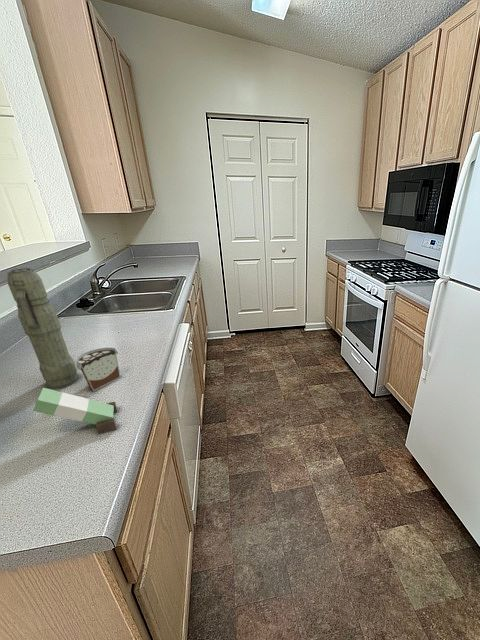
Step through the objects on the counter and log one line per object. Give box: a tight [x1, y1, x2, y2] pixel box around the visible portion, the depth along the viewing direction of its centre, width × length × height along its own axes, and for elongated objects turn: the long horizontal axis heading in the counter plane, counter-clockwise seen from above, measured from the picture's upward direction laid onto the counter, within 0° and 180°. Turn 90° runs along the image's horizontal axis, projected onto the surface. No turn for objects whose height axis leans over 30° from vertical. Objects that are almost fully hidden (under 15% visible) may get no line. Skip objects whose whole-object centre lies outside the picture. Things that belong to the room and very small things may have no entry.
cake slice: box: [75, 347, 121, 392], centre depth 103 cm, size 12×6×10 cm, turn 154°
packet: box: [32, 387, 114, 425], centre depth 82 cm, size 16×6×3 cm
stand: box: [95, 401, 118, 435], centre depth 86 cm, size 4×10×2 cm, turn 25°
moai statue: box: [6, 267, 80, 389], centre depth 98 cm, size 9×12×35 cm
